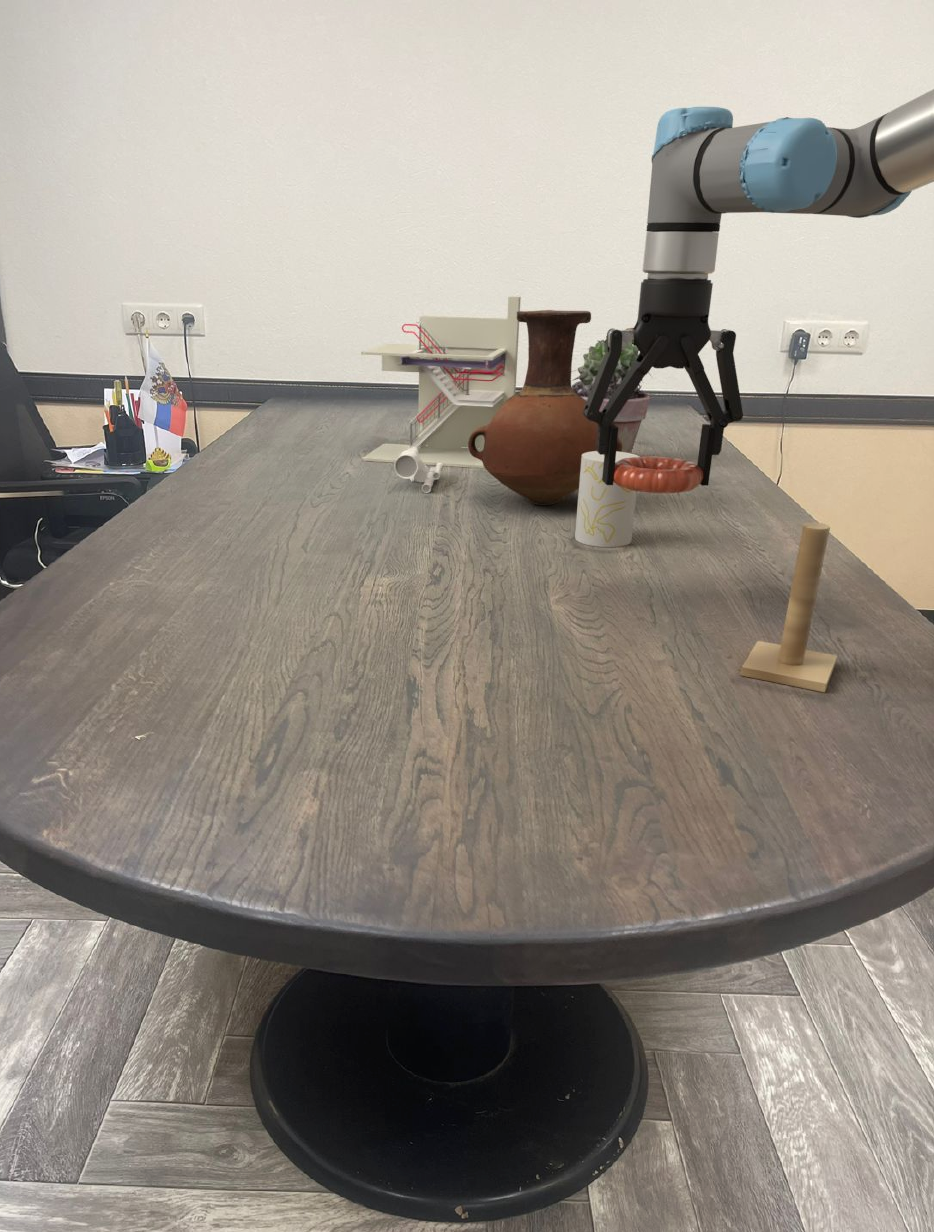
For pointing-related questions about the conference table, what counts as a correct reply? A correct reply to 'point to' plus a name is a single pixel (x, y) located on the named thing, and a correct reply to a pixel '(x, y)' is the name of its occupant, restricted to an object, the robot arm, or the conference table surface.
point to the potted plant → (635, 405)
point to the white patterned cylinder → (603, 505)
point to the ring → (657, 474)
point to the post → (797, 625)
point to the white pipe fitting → (416, 469)
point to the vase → (541, 417)
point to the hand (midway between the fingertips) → (654, 482)
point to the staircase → (454, 383)
